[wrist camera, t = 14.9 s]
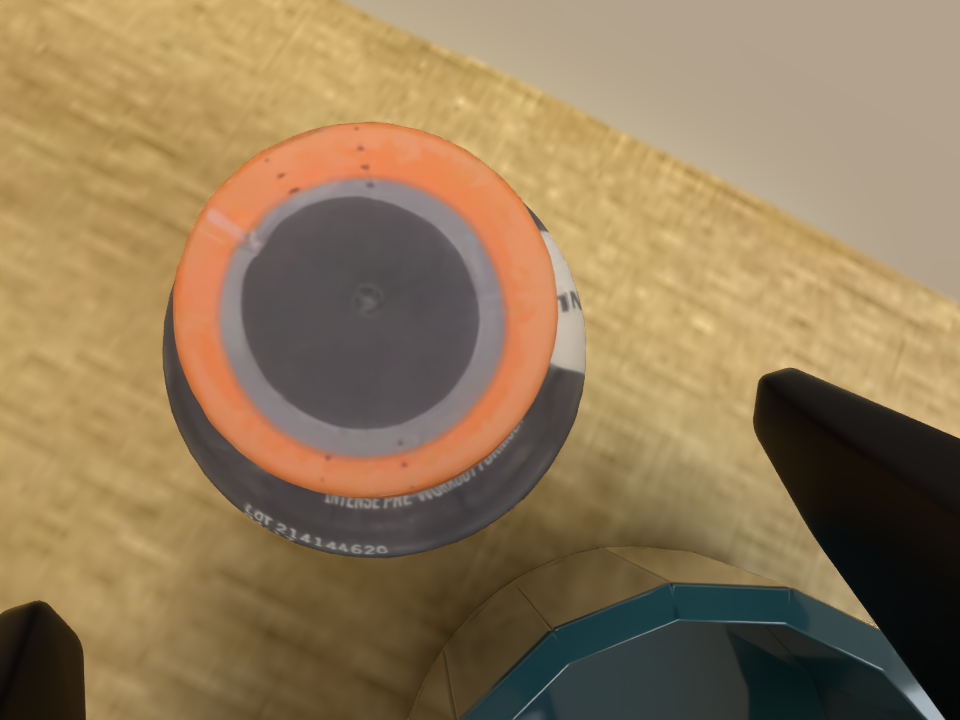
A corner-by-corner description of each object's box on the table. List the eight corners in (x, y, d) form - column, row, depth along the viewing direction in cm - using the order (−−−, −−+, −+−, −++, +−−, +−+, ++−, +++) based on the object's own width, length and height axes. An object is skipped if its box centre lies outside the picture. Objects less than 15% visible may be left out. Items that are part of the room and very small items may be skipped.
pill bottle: (520, 288, 19) (673, 61, 8) (504, 521, 18) (649, 626, 7) (286, 266, 19) (105, -10, 8) (259, 504, 18) (15, 587, 7)
